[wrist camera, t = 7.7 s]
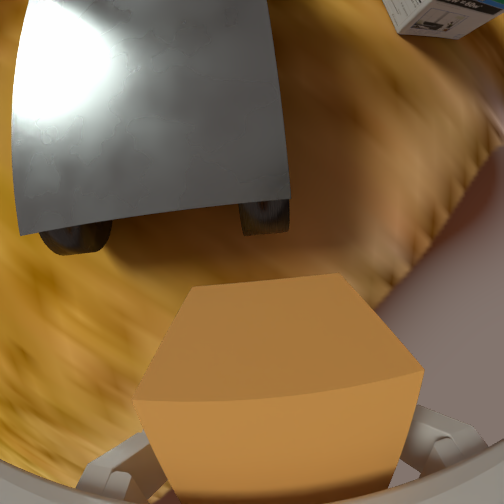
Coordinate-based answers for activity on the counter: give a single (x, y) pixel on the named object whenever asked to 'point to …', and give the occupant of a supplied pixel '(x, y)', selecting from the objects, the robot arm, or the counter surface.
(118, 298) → the counter surface
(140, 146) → the trolley
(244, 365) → the block
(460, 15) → the light bulb box
